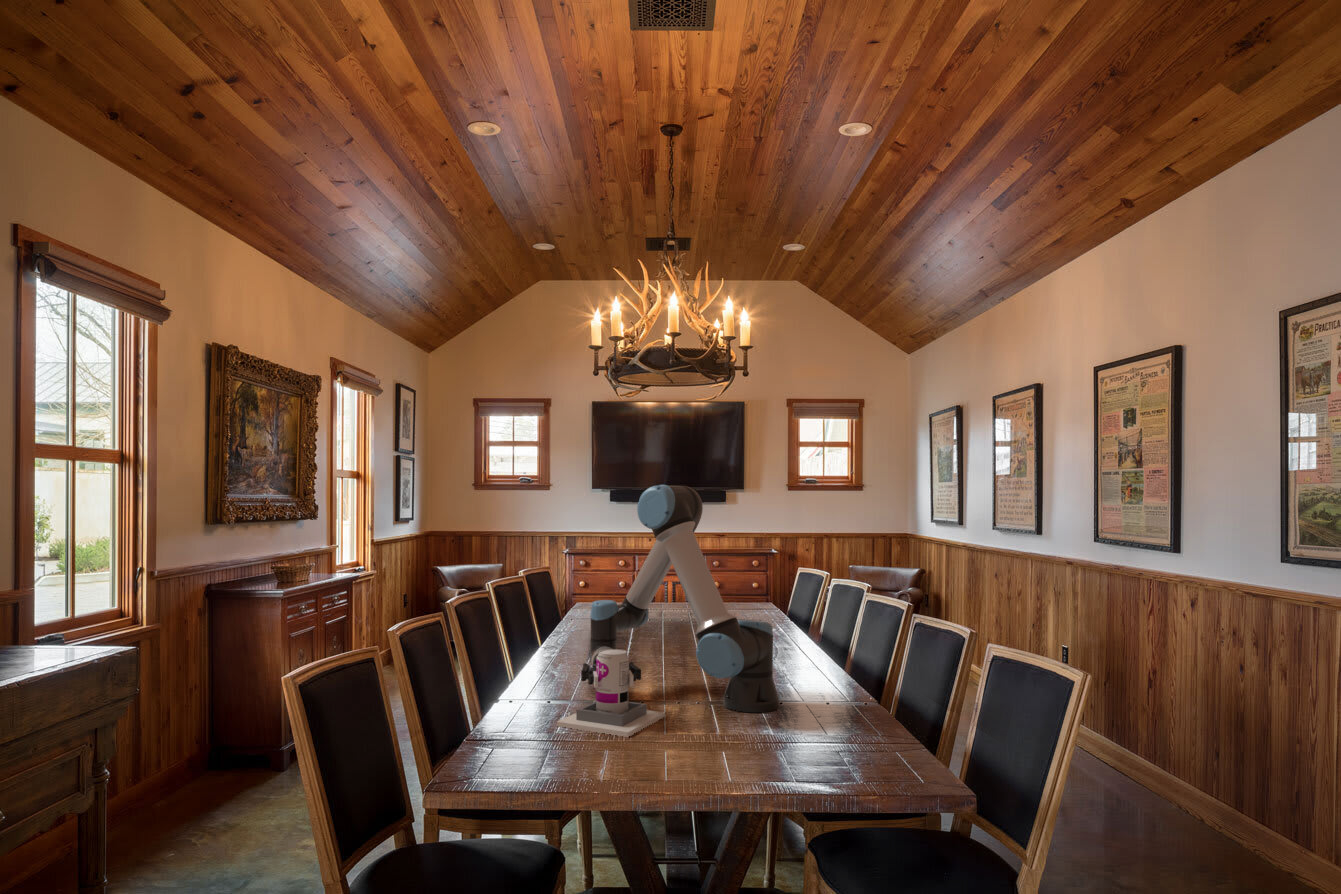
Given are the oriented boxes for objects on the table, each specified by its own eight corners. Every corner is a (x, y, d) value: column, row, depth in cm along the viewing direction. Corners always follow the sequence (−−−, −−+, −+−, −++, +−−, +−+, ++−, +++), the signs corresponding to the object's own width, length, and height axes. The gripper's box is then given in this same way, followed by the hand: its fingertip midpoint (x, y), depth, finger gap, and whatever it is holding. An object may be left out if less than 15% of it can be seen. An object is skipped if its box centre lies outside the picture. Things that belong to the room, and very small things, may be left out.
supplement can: (603, 717, 203) (604, 656, 204) (590, 709, 211) (591, 650, 212) (633, 713, 207) (634, 653, 208) (620, 706, 214) (620, 647, 215)
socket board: (664, 717, 213) (665, 702, 214) (627, 737, 195) (628, 721, 196) (598, 707, 222) (598, 693, 222) (556, 726, 204) (556, 711, 204)
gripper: (643, 675, 229) (655, 696, 206) (567, 678, 225) (571, 698, 203) (644, 648, 229) (656, 665, 207) (568, 650, 226) (572, 667, 203)
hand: (614, 681), depth 205 cm, fingers closed on supplement can, 8 cm apart
